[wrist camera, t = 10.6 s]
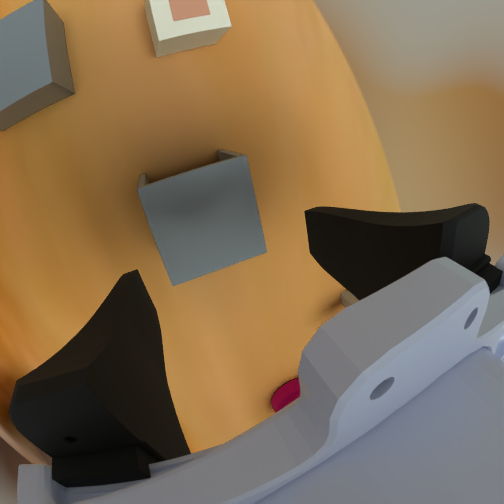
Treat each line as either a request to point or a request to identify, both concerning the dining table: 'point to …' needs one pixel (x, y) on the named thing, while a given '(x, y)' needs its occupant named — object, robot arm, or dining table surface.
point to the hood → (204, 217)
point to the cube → (185, 24)
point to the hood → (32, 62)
